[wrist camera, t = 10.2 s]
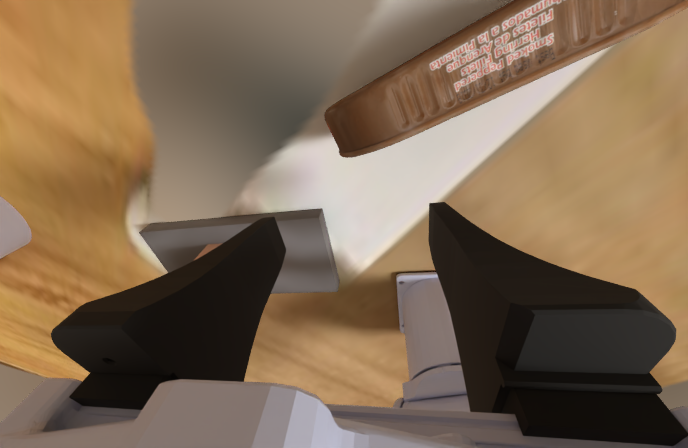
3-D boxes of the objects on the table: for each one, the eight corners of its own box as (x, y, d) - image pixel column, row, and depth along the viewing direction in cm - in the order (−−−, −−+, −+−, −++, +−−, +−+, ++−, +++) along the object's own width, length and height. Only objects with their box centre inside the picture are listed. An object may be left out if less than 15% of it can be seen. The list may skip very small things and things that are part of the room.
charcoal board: (339, 280, 27) (337, 291, 26) (192, 286, 30) (185, 295, 29) (322, 208, 22) (319, 217, 21) (150, 223, 26) (139, 232, 24)
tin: (349, 137, 19) (333, 186, 12) (329, 95, 17) (297, 123, 11) (595, 16, 14) (814, -22, 7) (594, -58, 12) (871, -199, 5)
